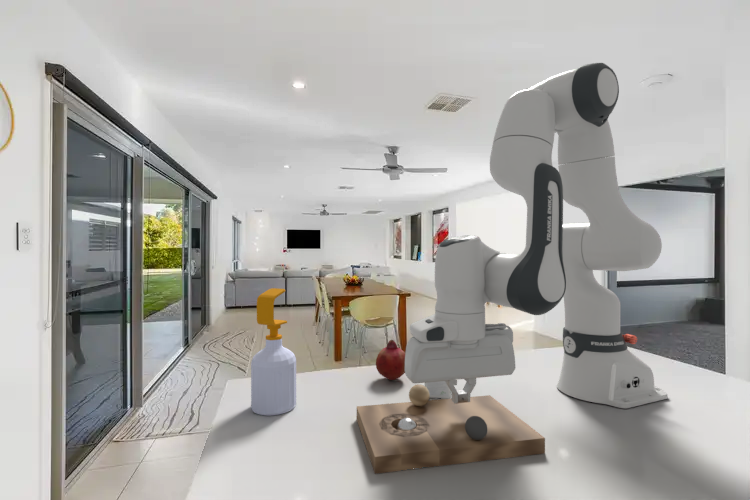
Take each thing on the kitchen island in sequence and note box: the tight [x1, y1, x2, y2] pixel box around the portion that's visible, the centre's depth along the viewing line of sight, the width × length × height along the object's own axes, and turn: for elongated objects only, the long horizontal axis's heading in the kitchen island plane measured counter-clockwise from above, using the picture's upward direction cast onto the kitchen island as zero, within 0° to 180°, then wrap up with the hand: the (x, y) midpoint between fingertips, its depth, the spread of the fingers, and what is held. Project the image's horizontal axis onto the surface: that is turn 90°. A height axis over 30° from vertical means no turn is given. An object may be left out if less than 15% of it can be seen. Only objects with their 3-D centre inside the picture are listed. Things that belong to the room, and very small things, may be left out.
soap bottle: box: [250, 287, 297, 416], centre depth 79 cm, size 9×9×25 cm
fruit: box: [375, 339, 406, 381], centre depth 95 cm, size 8×8×10 cm
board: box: [356, 394, 546, 475], centre depth 67 cm, size 28×18×2 cm, turn 101°
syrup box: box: [424, 381, 452, 399], centre depth 86 cm, size 6×6×14 cm
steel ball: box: [397, 418, 417, 431], centre depth 66 cm, size 4×4×4 cm
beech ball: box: [408, 383, 431, 406], centre depth 74 cm, size 4×4×4 cm
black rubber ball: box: [465, 416, 487, 440], centre depth 61 cm, size 4×4×4 cm
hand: (460, 401), depth 69 cm, fingers closed
